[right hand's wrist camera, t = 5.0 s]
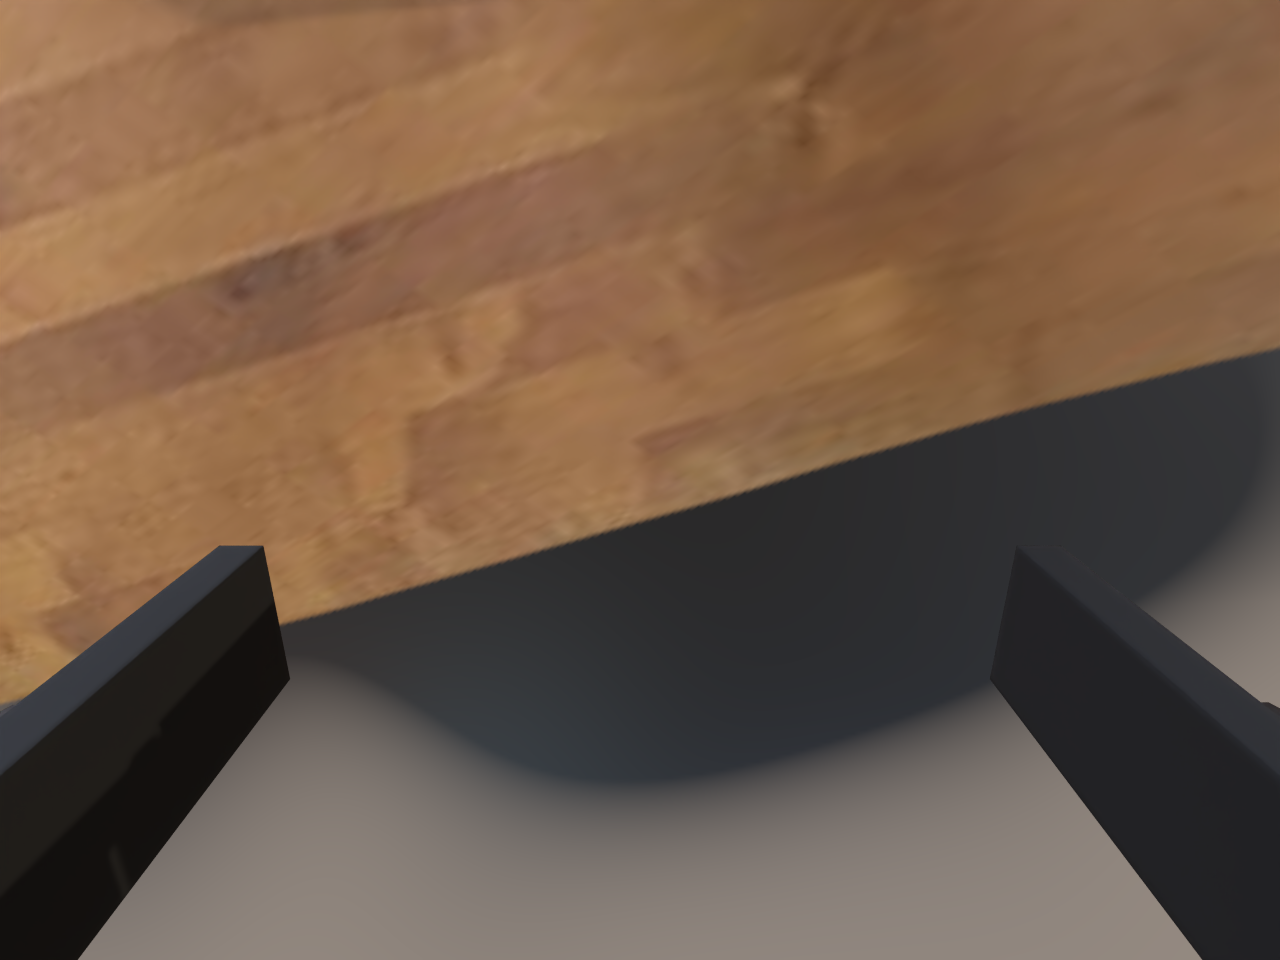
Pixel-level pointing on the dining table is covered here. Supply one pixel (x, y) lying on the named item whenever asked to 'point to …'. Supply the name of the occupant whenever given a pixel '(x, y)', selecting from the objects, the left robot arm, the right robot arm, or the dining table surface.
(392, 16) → the dining table surface
